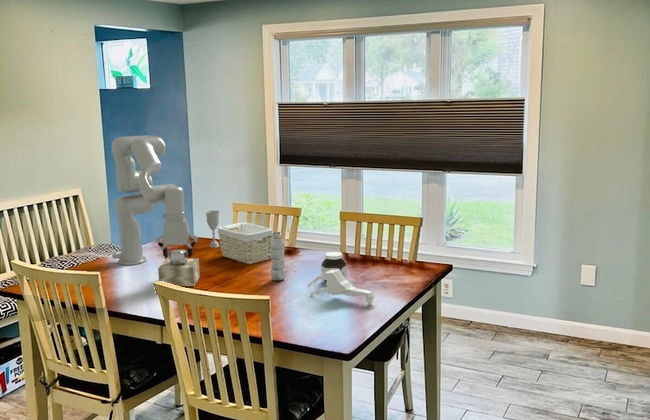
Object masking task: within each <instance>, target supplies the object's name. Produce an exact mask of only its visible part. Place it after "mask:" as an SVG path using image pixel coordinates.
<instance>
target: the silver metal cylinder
mask: <svg viewBox="0 0 650 420" xmlns="http://www.w3.org/2000/svg"><path fill="white" fill-rule="evenodd" d="M168 257H169V259H170V265H172V266H181V265H185V264H187V259H188V250H186V249H173V250H171V251H168Z"/></svg>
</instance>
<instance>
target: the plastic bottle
mask: <svg viewBox="0 0 650 420" xmlns="http://www.w3.org/2000/svg"><path fill="white" fill-rule="evenodd" d="M285 249H286V245H285V242H284V240H283V239H282V232H281V231H275V232H273V233H272V241H271V243H270V251H269V252H271V258H270V259H271V270H270V276H271V277H270V278H271V280H273V281H283V280H285V279H286V278H287V270H286V265H285Z"/></svg>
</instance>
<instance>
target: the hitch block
mask: <svg viewBox="0 0 650 420" xmlns="http://www.w3.org/2000/svg"><path fill="white" fill-rule="evenodd" d="M199 259H200V258H198V257H197V258H187V264H185V265H181V266H172V265H170V258H169V259H168V258H166V259H164V261H163V262H162V263H161V264H160V266H159V267H157V271H158V282H159V281H164V282H167V283H171V284H174V285H179V286H194V287H195V286H196V285H195V284H197V283H198V281H199V279H200V277H201V274H200V273H201V271H200V260H199ZM196 282H197V283H196Z"/></svg>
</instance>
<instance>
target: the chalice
mask: <svg viewBox="0 0 650 420" xmlns="http://www.w3.org/2000/svg"><path fill="white" fill-rule="evenodd" d="M204 212H205V214H206V223H207V225H208V228H209V229H210V230H212V241H211V242H210V244H209V248H219V247H220V243H219V242H218V241H217V240H216V232H215V231H216V229H218V225H219V222H220V216H219V215H220V211H219V210H208V211H204Z"/></svg>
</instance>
